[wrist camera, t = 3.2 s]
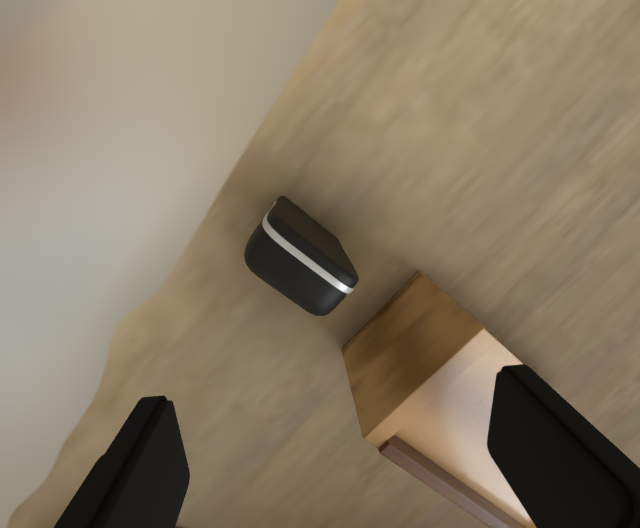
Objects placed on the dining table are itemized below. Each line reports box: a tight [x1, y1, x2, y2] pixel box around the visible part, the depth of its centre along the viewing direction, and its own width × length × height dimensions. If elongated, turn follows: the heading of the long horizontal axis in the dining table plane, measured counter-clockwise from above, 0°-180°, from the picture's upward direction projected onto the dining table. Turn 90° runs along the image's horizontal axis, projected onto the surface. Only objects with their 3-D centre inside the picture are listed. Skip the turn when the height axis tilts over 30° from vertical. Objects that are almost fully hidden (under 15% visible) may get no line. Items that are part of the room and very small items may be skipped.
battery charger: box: [244, 196, 359, 316], centre depth 24 cm, size 7×4×11 cm, turn 50°
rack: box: [342, 271, 537, 528], centre depth 29 cm, size 11×22×12 cm, turn 49°
